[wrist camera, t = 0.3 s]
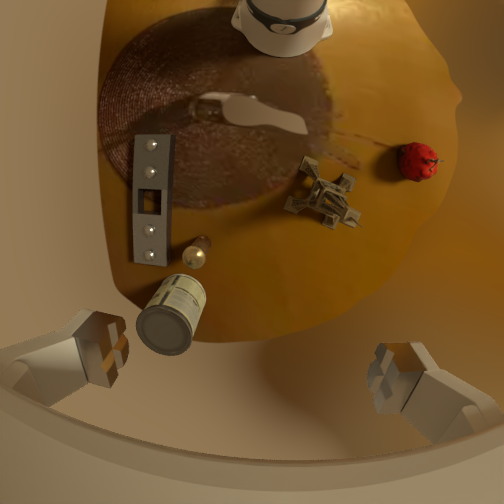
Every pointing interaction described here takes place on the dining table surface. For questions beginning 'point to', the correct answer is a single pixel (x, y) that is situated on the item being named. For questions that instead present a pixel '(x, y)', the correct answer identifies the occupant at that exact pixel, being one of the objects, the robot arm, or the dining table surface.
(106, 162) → the dining table surface
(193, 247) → the pin
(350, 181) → the eiffel tower
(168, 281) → the coffee can
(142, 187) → the grey peg board
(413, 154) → the red rounded piece
